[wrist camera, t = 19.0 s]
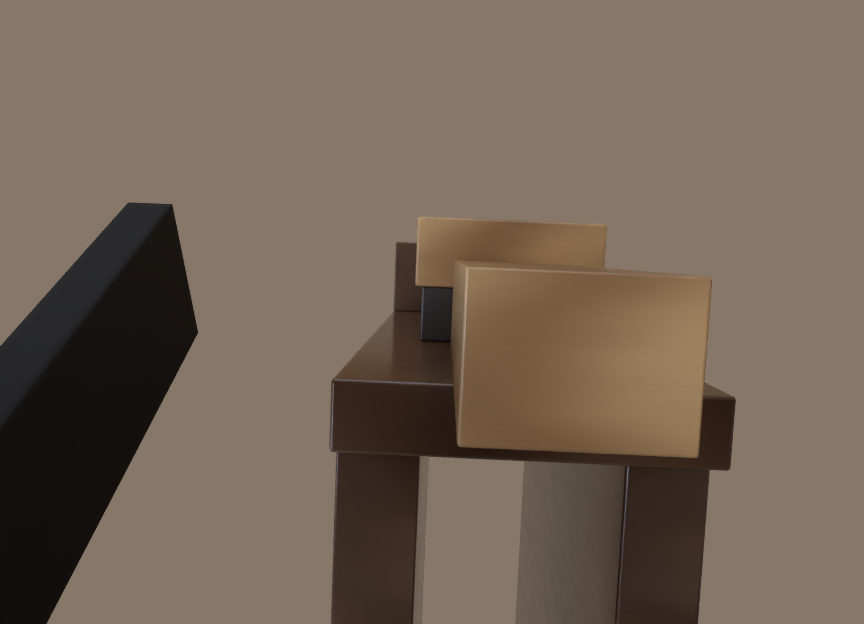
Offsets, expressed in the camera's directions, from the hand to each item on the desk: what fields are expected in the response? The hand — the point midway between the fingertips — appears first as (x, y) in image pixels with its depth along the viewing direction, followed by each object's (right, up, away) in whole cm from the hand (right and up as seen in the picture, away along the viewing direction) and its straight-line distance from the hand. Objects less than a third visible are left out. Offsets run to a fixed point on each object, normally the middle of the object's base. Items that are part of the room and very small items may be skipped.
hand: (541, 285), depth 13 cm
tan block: (0, -2, +7) cm, 7 cm away
